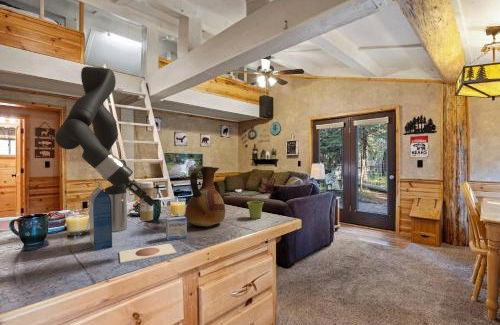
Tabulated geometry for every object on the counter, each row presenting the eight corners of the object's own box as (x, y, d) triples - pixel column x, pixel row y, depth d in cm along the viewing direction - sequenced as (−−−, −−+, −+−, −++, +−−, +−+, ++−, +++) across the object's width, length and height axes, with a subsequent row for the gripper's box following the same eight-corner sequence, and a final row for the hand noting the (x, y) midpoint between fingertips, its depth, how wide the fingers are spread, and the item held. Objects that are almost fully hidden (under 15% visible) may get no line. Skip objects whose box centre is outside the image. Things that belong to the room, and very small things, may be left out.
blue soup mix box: (93, 251, 96) (92, 183, 96) (89, 242, 106) (88, 180, 105) (112, 247, 100) (111, 182, 100) (107, 239, 110) (106, 180, 109)
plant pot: (245, 219, 143) (245, 203, 143) (248, 215, 152) (248, 200, 152) (262, 220, 141) (262, 204, 141) (264, 216, 151) (264, 201, 150)
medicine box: (167, 241, 107) (167, 220, 107) (165, 238, 111) (165, 217, 111) (187, 238, 111) (186, 217, 111) (184, 235, 115) (184, 215, 115)
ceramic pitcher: (232, 222, 136) (232, 165, 136) (206, 232, 119) (206, 166, 119) (204, 218, 147) (204, 164, 146) (176, 226, 130) (176, 166, 129)
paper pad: (119, 252, 95) (119, 251, 95) (170, 244, 103) (170, 243, 103) (120, 263, 85) (120, 261, 85) (176, 253, 93) (176, 251, 93)
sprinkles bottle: (137, 219, 93) (137, 182, 93) (149, 217, 97) (149, 181, 97) (143, 221, 90) (143, 183, 90) (156, 219, 94) (155, 182, 94)
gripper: (123, 162, 83) (163, 197, 89) (121, 162, 96) (156, 192, 102) (105, 180, 81) (147, 214, 87) (105, 177, 94) (142, 207, 100)
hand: (152, 202), depth 94 cm, fingers closed on sprinkles bottle, 4 cm apart
